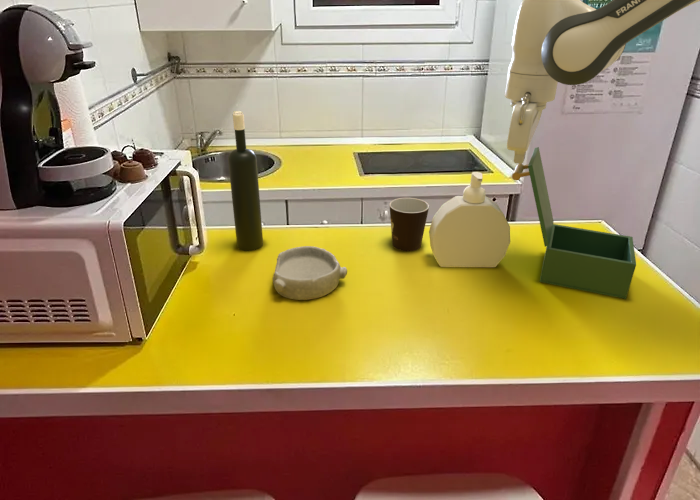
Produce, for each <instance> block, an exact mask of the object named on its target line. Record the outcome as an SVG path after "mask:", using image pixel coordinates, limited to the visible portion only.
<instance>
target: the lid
mask: <svg viewBox="0 0 700 500" xmlns="http://www.w3.org/2000/svg"><path fill="white" fill-rule="evenodd" d="M540 151H541V150H540V147H539V146H537V147H534V149H533V150H532V154H531V157H530V159H529V162H528V164H523V163H522V164H518V163H516V165H515V168H514V169H513V172H512V175H511V178H512V180H514V181H519V180H520V179H521V178H523V177H529V178H530V182H531V188H532V192H533V193H532V194H533V197H534V202H535V208H536V211H537V217H538V222H539V225H540V231H541V234H542V235H541V236H542V240H543V245H544V247H547V246H549V243H550V238H551V233H552V227H553V224H554V222H555V221H554V216H553V211H552V207H551V202H550V201H551V200H550V196H549V191H548V187H547V181H546V176H545V171H544V166H543V162H542V161H543V160H542V156H541V152H540ZM524 170H528V171H524Z"/></svg>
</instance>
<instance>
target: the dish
mask: <svg viewBox="0 0 700 500" xmlns="http://www.w3.org/2000/svg"><path fill="white" fill-rule="evenodd" d="M347 275H348V269H347V267H346V266H343V267H342V266H341V265H340V263H339V261H338V259H337V258H336V256H335V255H334V254H333V253H332V252H331V251H329V250H326V249H325V248H320V247H318V246H314V245H313V246H311V245H305V246H296V247H292V248H288V249H286V250H283V251H281V252H280V253H278V255H277V258H276V264H275V268H274V272H273V276H272V283H273V287H274V289H275V291H276V292H277V293H278V295H280V296H282V297H283V298H286V299H289V300H296V301H298V300H299V301H308V300H315V299H319V298H321V297H324V296H326V295H329V294H330V293H332V292H333V291H334V290H335V289H336V288H337V287H338V285H339V283H340V280H343V279H345V278H346V277H347Z"/></svg>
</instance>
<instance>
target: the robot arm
mask: <svg viewBox="0 0 700 500" xmlns="http://www.w3.org/2000/svg"><path fill="white" fill-rule="evenodd" d="M698 2H700V0H611V1H610V2H608V3H606V4H604V5H602V6H601V7H599V8H594V7H593V6H590V5H588V4H587V3H585V2H583V1H581V0H522V1H521V2H520V4H519V8H518V10H517V15H516V18H515V23H514V27H513V34H512V40H511V51H512V57H511V61H510V63H509V66H508V69H507V76H506V82H505V91H504V98H506V99H508V100H510V104H509V106H510V108H512V112H511V115H510V121H509V122H510V123H509V127H508V134H507V140H506V149H507V150H508V151H512V152H513V151H514V155H513V163H514V164H523V163H524V161H525V160H526V155H527V152H528V149H529V147H530V145H531V142H532V139H533V138H534V136H535V133H536V131H537V128H538V125H539V123H540V120H541V117H542V113H543V110H545V109H546V108H547V104H548V103H550V102H553V101H555V98H556V94H557V90H558V89H557V88H558V83H559V84H562V85H566V86H578V85H582V84H585V83H587V82H590V81H591V80H593V79H594V78H596V77H597V76H598V75H599V74H601V72H603V71H605V70H607V69H608V68H610V67H611V66H612V65H614V64H615V63H616V62H617V61H618V60H619V59H620V58H621V56H622V54H623V53H624V51H625V49H626V46H627V44H628V43H629V42H630V41H632V40H634V39H635V38H637V37H638V36H640V35H642V34H643V33H645V32H646V31H648V30H650V29H651V28H653V27H655V26H656V25H658V24H660V23H662V22H663V21H665V20H666V19H669V18H670V17H671V16H673V15H674V14H676V13H678V12H679V11H681V10H683V9H685V8H688V7H689V6H691V5H694V4H696V3H698Z"/></svg>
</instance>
